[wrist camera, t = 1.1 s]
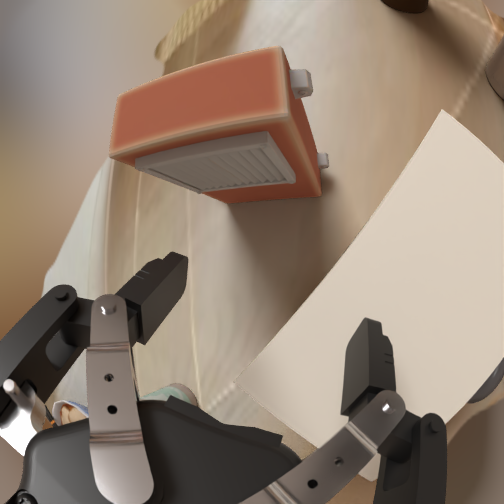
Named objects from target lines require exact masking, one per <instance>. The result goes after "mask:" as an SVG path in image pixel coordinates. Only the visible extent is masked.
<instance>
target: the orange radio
mask: <svg viewBox="0 0 504 504" xmlns="http://www.w3.org/2000/svg"><path fill="white" fill-rule="evenodd" d="M312 92H313V87H312V80H311V74H310V73H309V72H308V71H307V70H306V69H297V70H291V69H290V66H289V63H288V61H287V58H286V55H285V53H284V50H283V48H282V47H281V46H274V47H268V48H263V49H258V50H253V51H248V52H243V53H239V54H235V55H231V56H227V57H223V58H219V59H215V60H211V61H208V62H205V63H201V64H198V65H195V66H191V67H188V68H185V69H182V70H179V71H176V72H173V73H171V74H168V75H165V76H162V77H160V78H157V79H155V80H152V81H149V82H147V83H144V84H142V85H140V86H137V87H135V88H133V89H130V90H128V91H126V92H124V93H121V94H120V95H119V96H118V98H117V103H116V109H115V114H114V120H113V127H112V133H111V141H110V150H109V157H110V158H112V159H114V160H117V161H120V162H123V163H125V164H128V165H131V166H133V167H135V169H137V170H138V171H142V172H145V173H148V174H150V175H153V176H156V177H158V178H161V179H163V180H166V181H169V182H171V183H174V184H176V185H179V186H182V187H184V188H187V189H189V190H192V191H194V192H197V193H198V194H201V193H202V194H205V195H207V196H210V197H212V198H215V199H217V200H219V201H222V202H224V203H227V204H229V203H239V202H250V201H262V200H274V199H288V198H302V197H319V196H321V195H322V191H321V178H320V169H323V168H328V167H329V160H328V154H326V153H318V152H317V149H316V145H315V142H314V139H313V135H312V132H311V129H310V125H309V122H308V119H307V116H306V112H305V109H304V106H303V103H302V100H301V98H302V97H307V96H311V94H312Z"/></svg>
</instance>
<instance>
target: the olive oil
mask: <svg viewBox="0 0 504 504" xmlns="http://www.w3.org/2000/svg"><path fill="white" fill-rule="evenodd" d="M382 1H383V2H384V3H385V4H387V5H388V6H390V7H392V8H394V9H397V10H400V11H404V12H409V13H419V12H423V11H424V10H425V9H426V8H427V5H428V0H382Z"/></svg>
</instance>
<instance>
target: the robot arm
mask: <svg viewBox="0 0 504 504" xmlns="http://www.w3.org/2000/svg"><path fill="white" fill-rule="evenodd" d="M486 75H487V78H488V80H489V82H490V84H491V86H492V87H493V89H494V90H495V91H496V92H497V94H498V95H499V96H500V97H501V98H502V99H503V100H504V35H503V37H502V39H501V41H500V43H499V44H498V46H497V48H496V50H495V51H494V53H493V55H492V56H491V58H490V60H489V61H488V63H487V65H486ZM187 269H188V257H186V256H183V255H181V254H178V253H175V252H170V253H169V254H168V255H167V256H166V257H165V258H164V259H163V260H162V259H159V258H157V259H155V260H153V261H150V262H148V263H147V264H146V265H145V266H144V267H143V268H142V269H141V271H140V270H139V271H138V272H137V273H136V275H135V276H133V277H132V278H131V279H130V280H129V281H128V282H127V283H126V284H125V285H124V286H123V287H122V288H121V289H120V290H119V291H118V292H117V293H116V294H115V295H114V294H106V295H102V296H100V297H98V298H97V299H96V300H95V301H94V300H89V299H84V298H79V297H77V293H76V290H75V289H74V288H73V287H72V286H70V285H58V286H55V287H53V288H52V289H51V290H50V291H49V292H47V293H46V294H45V295H44V296H43V297H42V298H41V299H40V300H39V301H38V302H37V303H36V304H35V305H34V306H33V307H32V308H31V309H30V310H29V311H28V312H27V313H26V314H25V315H24V316H23V317H22V318H21V319H20V320H19V321H18V323H16V325H15V326H14V327H13V328H12V329H11V330H10V331H9V332H8V333H7V334H6V335H5V336H4V337H3V339H2V340H1V341H0V435H1V436H3V437H4V438H5V439H6V440H7V441H8V442H9V443H10V444H11V445H12V446H13V447H14V448H15V449H17V450H18V451H19V452H20V453H21V454H22V455H23V456H24V462H23V474H22V479H21V483H20V486H19V488H18V490H17V492H16V493H15V494H14V495H13V496H12V497H11V498H10V499H9V500H8V501H7V502H6V503H4V504H325V503H327V502H328V501H329V500H330V499H331V498H332V497H334V496H335V495H336V494H337V493H338V492H339V491H340V490H341V489H342V488H343V487H345V486H346V485H347V484H348V483H349V482H350V481H351V480H352V479H353V478H354V477H355V476H356V475H357V474H358V473H359V472H360V471H361V470H362V469H363V468H364V467H365V466H366V465H367V464H368V462H369V461H370V460H371V459H372V458H373V457H374V456H375V455H376V453H378V454H380V455H381V458H380V465H379V472H378V479H377V485H376V490H375V496H374V501H373V504H445V496H446V479H447V436H446V425H445V423H444V421H443V419H442V418H441V417H440V416H439V415H437V414H435V413H427V414H425V415H424V416H423V417H422V418H421V417H419V416H417V415H415V414H413V413H411V412H409V411H408V410H406V406H405V402H404V400H403V399H402V397H401V396H400V395H399V394H398V393H396V378H395V366H394V357H393V346H392V344H391V342H390V340H389V338H388V336H385V335H383V332H382V324H381V322H379V321H376V320H373V319H369V318H366V317H365V318H364V319H363V320H362V322H361V323H360V325H359V326H358V328H357V330H356V331H355V333H354V334H353V336H352V338H351V339H350V341H349V343H348V345H347V348H346V353H345V367H344V380H343V392H342V402H341V412H340V415H343V416H348V417H349V418H348V423H347V424H346V425H344V426H343V427H342V428H341V429H340V430H339V431H338V432H337V433H335V434H334V435H333V436H332V437H331V438H330V439H328V440H327V441H326V442H325V443H324V444H322V445H321V446H320V447H319V448H317V449H316V450H315V451H314V452H312V453H311V454H310V455H308V456H307V457H306V458H304V459H303V460H301V459H300V458H299V456H298V455H297V454H296V453H295V452H294V451H293V450H291V449H290V448H289V447H287V446H286V445H284V444H283V443H281V440H282V437H283V435H279V434H276V433H272V432H269V431H265V430H262V429H259V428H255V427H246V426H236V425H227V424H223V423H221V422H219V421H218V420H216V419H215V418H213V417H212V416H210V415H209V414H207V413H206V412H204V411H203V410H201V409H200V408H199V407H197V406H195V405H192V404H190V403H188V402H185V401H183V400H181V399H179V398H176V397H174V396H172V395H170V396H169V398H168V399H167V401H164V400H140V395H139V390H138V385H137V378H136V371H135V364H134V356H133V348H132V347H133V346H134V344H135V343H136V342H139V343H141V344H143V345H145V344H146V343H147V342H148V340H149V339H150V338H151V336H152V335H153V334H154V332H155V331H156V330H157V328H158V327H159V326H160V324H161V323H162V322H163V320H164V319H165V318H166V316H167V315H168V314H169V312H170V311H171V310H172V308H173V307H174V306H175V305H176V303H177V302H178V301H179V299H180V298H181V297H182V295H183V293H184V291H185V287H186V281H187ZM55 334H56V335H55ZM49 341H50V342H49ZM84 349H87V350H86V376H87V400H88V413H89V417H88V418H85V419H82V420H78V421H75V422H71V423H68V424H64V425H60V426H57V427H53V428H49V429H45V430H42V425H43V424H44V423H45V417H46V408H45V405H44V404H45V402H46V401H47V400H48V398H49V397H50V395H51V394H52V392H53V391H54V390H55V388H56V387H57V385H58V384H59V383H60V381H61V380H62V378H63V377H64V376H65V374H66V373H67V372H68V370H69V369H70V368H71V366H72V365H73V364H74V362H75V361H76V360H77V358H78V357H79V356H80V354H81V353H82V352H83V350H84Z"/></svg>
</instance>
